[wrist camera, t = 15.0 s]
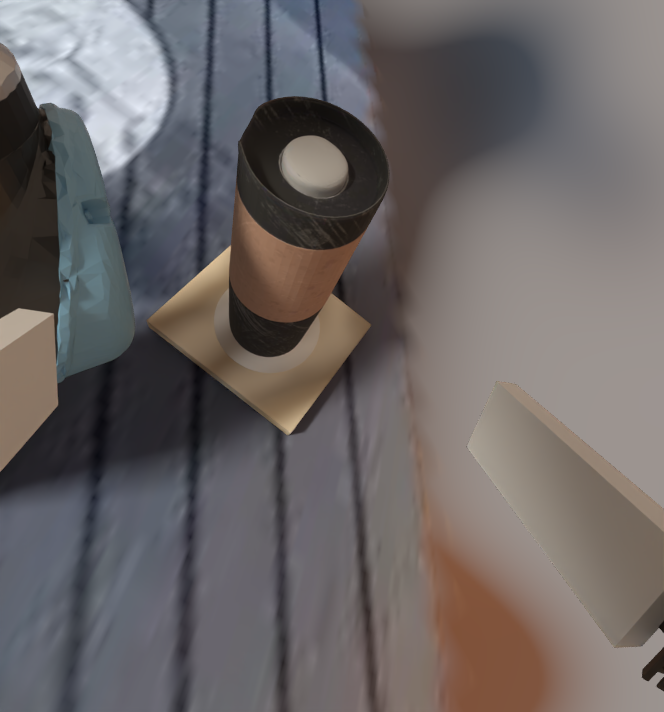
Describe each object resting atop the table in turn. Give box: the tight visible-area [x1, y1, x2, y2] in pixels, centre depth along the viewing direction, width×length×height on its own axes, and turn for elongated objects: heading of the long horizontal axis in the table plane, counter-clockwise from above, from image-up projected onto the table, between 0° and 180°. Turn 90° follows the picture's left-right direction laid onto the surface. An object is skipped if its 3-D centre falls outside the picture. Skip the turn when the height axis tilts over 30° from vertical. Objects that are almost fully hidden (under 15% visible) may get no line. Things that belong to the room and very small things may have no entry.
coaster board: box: [147, 246, 371, 435], centre depth 37 cm, size 16×14×2 cm
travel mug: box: [229, 96, 389, 357], centre depth 28 cm, size 8×8×20 cm
